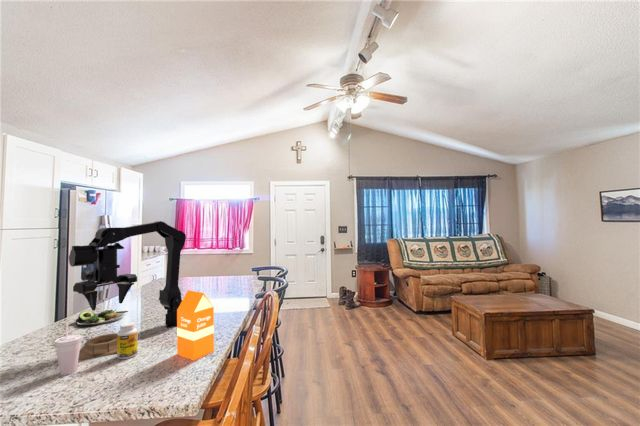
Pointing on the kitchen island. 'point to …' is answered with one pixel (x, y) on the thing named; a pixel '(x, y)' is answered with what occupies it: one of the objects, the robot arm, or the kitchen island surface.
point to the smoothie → (68, 352)
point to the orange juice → (195, 326)
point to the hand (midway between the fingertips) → (107, 306)
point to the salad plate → (98, 318)
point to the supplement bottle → (127, 341)
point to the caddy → (99, 346)
